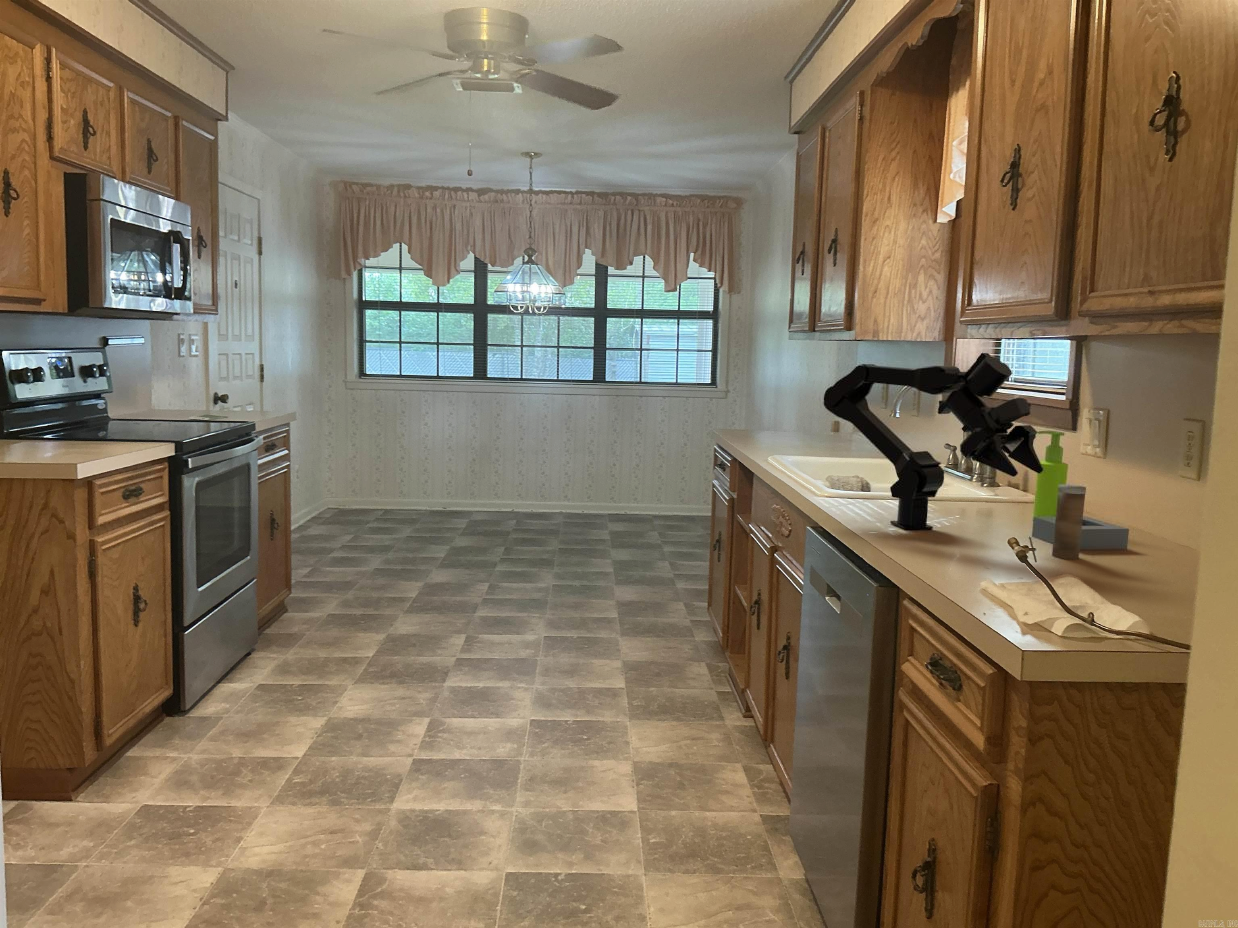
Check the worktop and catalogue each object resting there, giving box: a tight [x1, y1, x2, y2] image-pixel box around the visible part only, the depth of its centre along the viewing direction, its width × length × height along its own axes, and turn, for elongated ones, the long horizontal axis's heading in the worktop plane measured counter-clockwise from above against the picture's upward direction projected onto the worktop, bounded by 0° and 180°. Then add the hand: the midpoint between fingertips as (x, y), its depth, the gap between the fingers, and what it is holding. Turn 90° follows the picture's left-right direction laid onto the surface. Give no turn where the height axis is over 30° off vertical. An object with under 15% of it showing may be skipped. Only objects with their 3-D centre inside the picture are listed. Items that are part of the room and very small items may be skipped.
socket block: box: [1031, 516, 1130, 551], centre depth 182 cm, size 12×12×4 cm
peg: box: [1051, 483, 1087, 561], centre depth 168 cm, size 4×4×13 cm
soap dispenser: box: [1032, 430, 1069, 519], centre depth 201 cm, size 6×7×20 cm
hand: (1028, 473), depth 172 cm, fingers open, 9 cm apart
